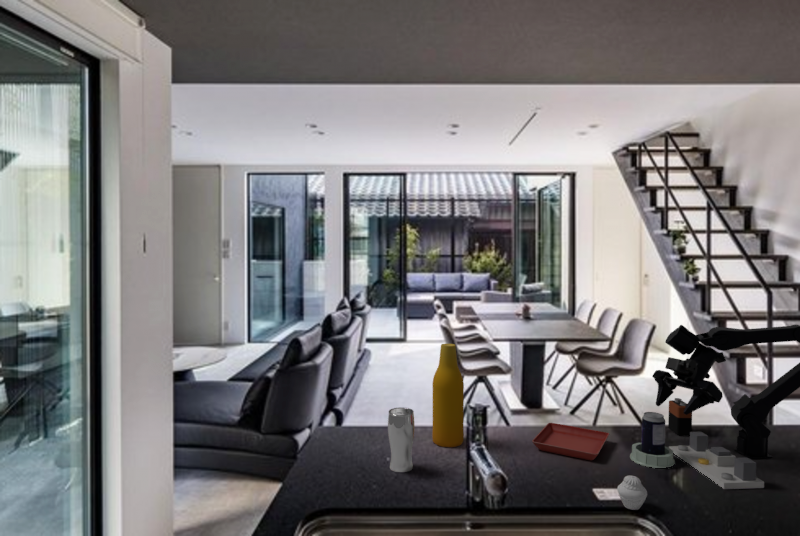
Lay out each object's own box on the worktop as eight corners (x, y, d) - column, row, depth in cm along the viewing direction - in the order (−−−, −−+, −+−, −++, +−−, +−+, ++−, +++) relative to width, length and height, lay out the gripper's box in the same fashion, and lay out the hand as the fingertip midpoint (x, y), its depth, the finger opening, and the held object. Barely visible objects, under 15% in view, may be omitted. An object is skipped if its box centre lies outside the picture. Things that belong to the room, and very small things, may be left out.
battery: (681, 428, 168) (682, 397, 167) (692, 436, 161) (693, 404, 161) (667, 428, 168) (668, 397, 168) (677, 436, 161) (678, 403, 161)
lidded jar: (629, 515, 114) (630, 483, 114) (611, 501, 120) (611, 471, 120) (653, 511, 116) (654, 479, 116) (634, 498, 122) (634, 468, 122)
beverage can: (662, 455, 145) (663, 412, 144) (666, 464, 140) (666, 419, 139) (640, 453, 147) (641, 410, 146) (642, 461, 142) (643, 416, 141)
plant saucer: (597, 465, 141) (597, 453, 141) (530, 452, 150) (531, 440, 150) (609, 443, 156) (610, 432, 156) (548, 432, 166) (548, 422, 165)
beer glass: (418, 464, 141) (418, 409, 140) (407, 475, 134) (407, 417, 134) (394, 460, 144) (394, 405, 143) (383, 470, 137) (383, 413, 137)
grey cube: (722, 458, 140) (722, 446, 140) (730, 463, 137) (730, 451, 137) (710, 458, 140) (710, 447, 140) (718, 463, 136) (718, 451, 136)
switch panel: (669, 451, 149) (669, 431, 149) (703, 450, 150) (703, 430, 150) (724, 489, 126) (724, 465, 126) (764, 487, 127) (764, 464, 127)
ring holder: (660, 451, 149) (660, 441, 149) (683, 468, 138) (684, 456, 138) (622, 452, 148) (622, 442, 148) (642, 469, 137) (643, 458, 137)
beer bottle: (429, 446, 154) (429, 346, 152) (436, 435, 163) (436, 341, 161) (460, 449, 151) (460, 348, 150) (466, 438, 160) (466, 342, 159)
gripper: (656, 342, 156) (627, 384, 152) (713, 351, 139) (683, 399, 135) (677, 366, 159) (649, 407, 155) (735, 378, 141) (706, 425, 138)
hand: (670, 409), depth 146 cm, fingers open, 9 cm apart
